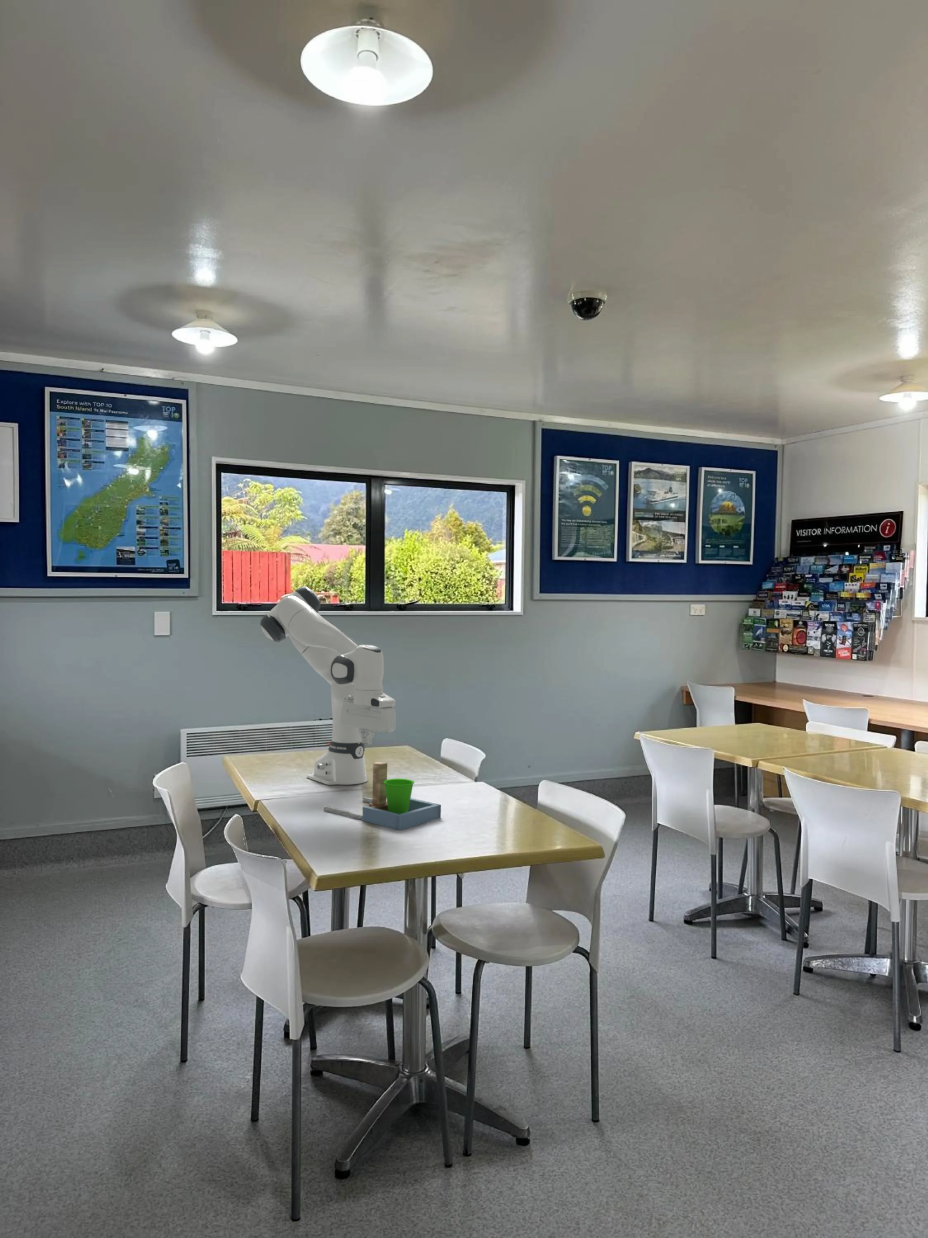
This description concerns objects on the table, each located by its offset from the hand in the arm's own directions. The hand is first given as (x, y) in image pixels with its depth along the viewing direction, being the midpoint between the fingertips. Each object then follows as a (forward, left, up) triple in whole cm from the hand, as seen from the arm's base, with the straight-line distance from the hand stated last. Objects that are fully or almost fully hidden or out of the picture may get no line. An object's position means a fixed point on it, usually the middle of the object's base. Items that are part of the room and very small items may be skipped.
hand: (366, 743), depth 255 cm
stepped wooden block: (+7, 0, -20) cm, 21 cm away
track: (0, 0, -20) cm, 20 cm away
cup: (+14, -1, -21) cm, 25 cm away
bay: (+16, 0, -20) cm, 26 cm away
